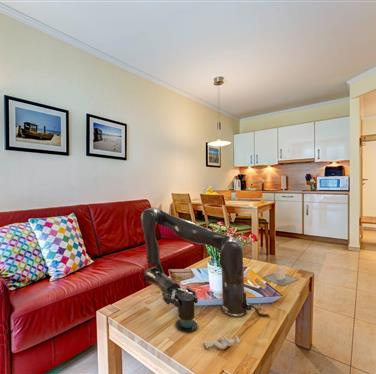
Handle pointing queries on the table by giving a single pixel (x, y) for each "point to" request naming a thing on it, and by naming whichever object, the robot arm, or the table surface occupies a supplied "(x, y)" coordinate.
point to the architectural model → (280, 277)
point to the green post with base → (186, 325)
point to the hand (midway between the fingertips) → (188, 303)
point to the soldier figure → (224, 342)
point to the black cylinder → (186, 306)
